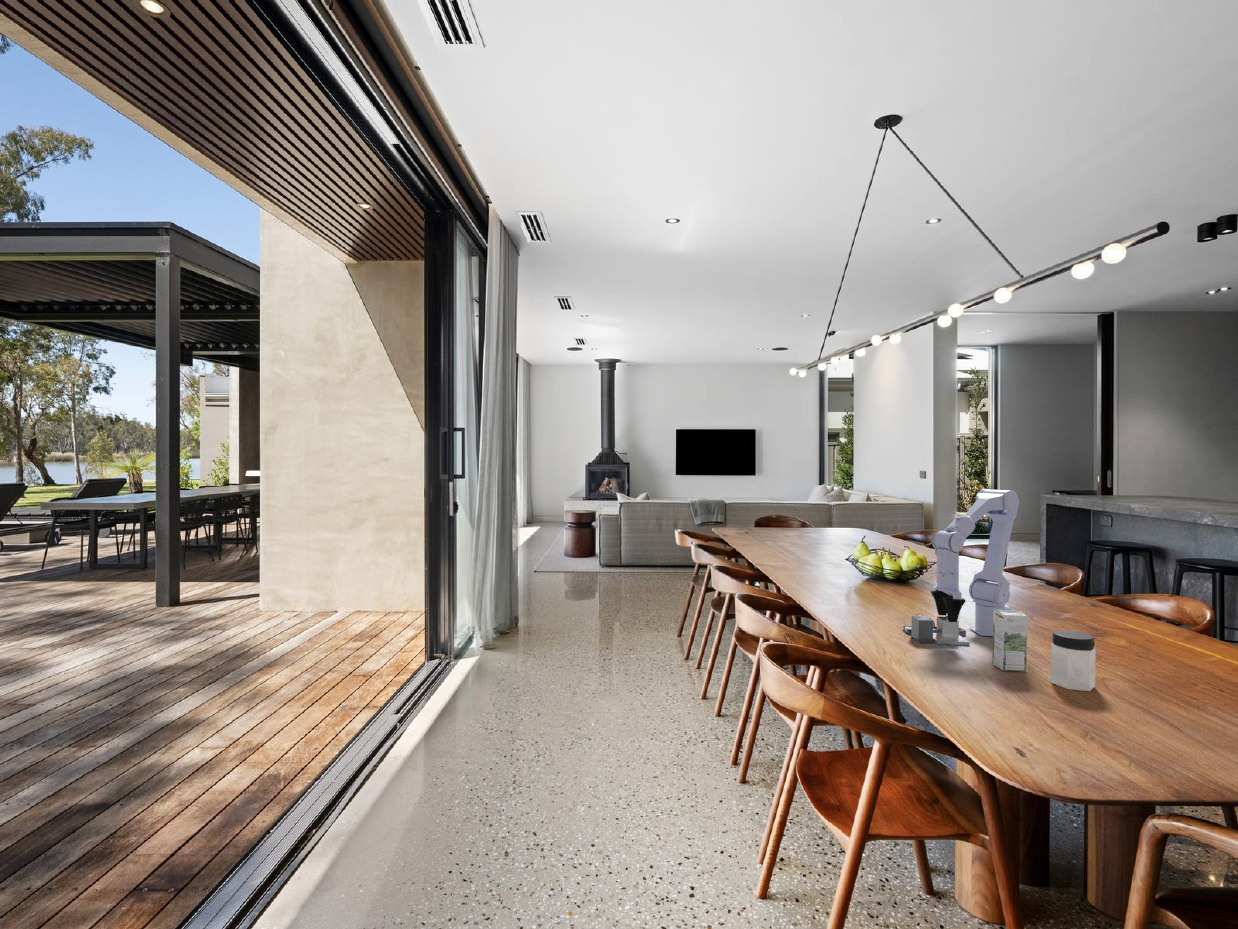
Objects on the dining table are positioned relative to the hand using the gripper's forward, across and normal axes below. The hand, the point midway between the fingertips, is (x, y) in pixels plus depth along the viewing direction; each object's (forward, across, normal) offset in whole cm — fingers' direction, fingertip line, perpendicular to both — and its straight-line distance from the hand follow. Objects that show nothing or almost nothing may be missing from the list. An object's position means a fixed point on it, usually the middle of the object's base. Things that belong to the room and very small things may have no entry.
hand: (947, 618), depth 189 cm
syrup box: (+7, +24, +6) cm, 26 cm away
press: (+7, -3, -1) cm, 7 cm away
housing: (+6, 0, 0) cm, 6 cm away
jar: (+7, +35, +15) cm, 39 cm away
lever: (+6, -8, -5) cm, 11 cm away
